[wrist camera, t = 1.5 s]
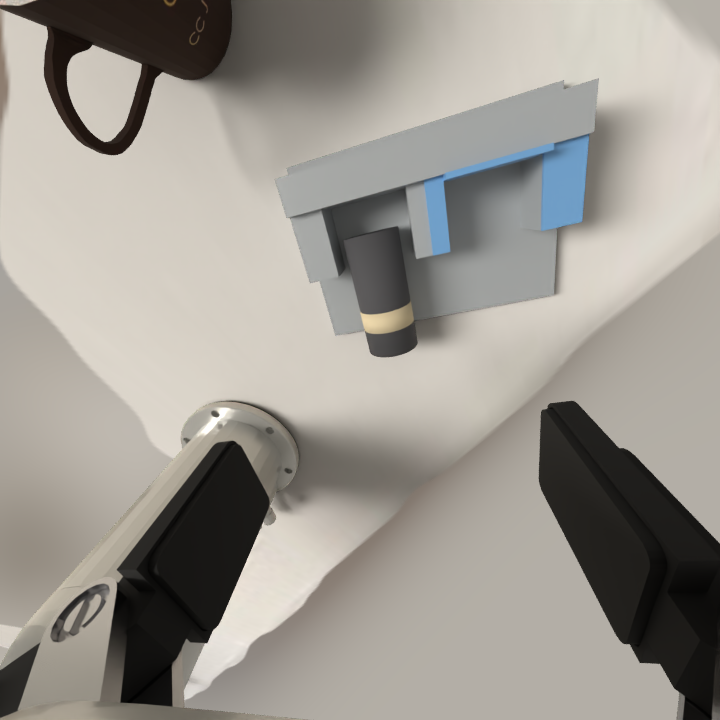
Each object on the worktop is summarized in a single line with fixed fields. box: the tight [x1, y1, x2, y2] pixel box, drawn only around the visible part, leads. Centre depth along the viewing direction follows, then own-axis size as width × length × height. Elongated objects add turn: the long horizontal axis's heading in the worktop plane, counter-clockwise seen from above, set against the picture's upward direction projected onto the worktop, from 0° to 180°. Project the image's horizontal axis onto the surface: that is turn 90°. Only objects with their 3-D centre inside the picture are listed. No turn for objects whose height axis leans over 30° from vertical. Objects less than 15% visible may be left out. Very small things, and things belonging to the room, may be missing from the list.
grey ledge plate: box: [275, 78, 599, 336], centre depth 18 cm, size 12×16×5 cm
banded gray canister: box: [343, 226, 417, 357], centre depth 20 cm, size 8×4×4 cm, turn 13°
